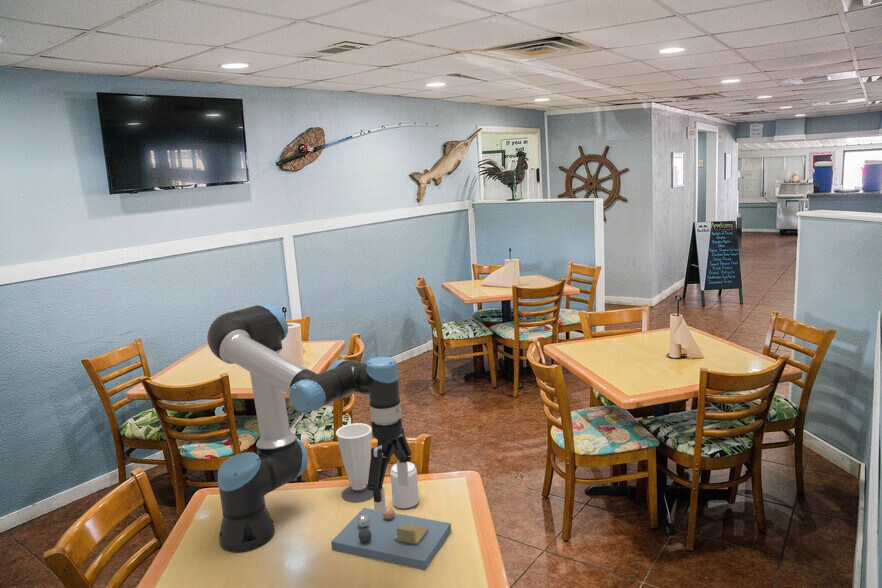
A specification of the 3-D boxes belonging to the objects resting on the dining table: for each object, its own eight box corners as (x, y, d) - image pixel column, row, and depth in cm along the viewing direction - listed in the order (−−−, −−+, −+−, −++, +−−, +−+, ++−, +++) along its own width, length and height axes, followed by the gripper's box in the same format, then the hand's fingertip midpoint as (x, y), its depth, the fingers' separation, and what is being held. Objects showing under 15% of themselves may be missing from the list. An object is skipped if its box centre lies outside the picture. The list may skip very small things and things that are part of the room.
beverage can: (415, 510, 184) (412, 474, 182) (389, 509, 186) (386, 472, 184) (421, 496, 192) (419, 461, 190) (396, 495, 194) (394, 460, 192)
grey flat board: (331, 549, 167) (331, 541, 167) (364, 515, 184) (363, 507, 183) (425, 570, 157) (424, 561, 156) (451, 531, 173) (450, 523, 172)
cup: (364, 480, 204) (359, 419, 200) (384, 493, 196) (379, 429, 192) (334, 493, 197) (328, 430, 193) (353, 506, 189) (347, 441, 184)
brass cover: (394, 540, 165) (393, 527, 165) (405, 526, 172) (404, 514, 171) (417, 545, 163) (416, 532, 162) (428, 530, 169) (427, 518, 168)
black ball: (356, 543, 165) (355, 532, 164) (363, 536, 168) (361, 525, 168) (367, 546, 164) (366, 534, 163) (374, 538, 167) (373, 527, 166)
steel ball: (354, 529, 172) (353, 517, 171) (361, 522, 175) (360, 511, 175) (365, 531, 171) (364, 519, 170) (371, 524, 174) (370, 513, 173)
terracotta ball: (380, 520, 176) (379, 509, 175) (386, 514, 179) (385, 503, 178) (391, 522, 174) (390, 511, 174) (397, 516, 177) (396, 505, 177)
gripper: (376, 442, 139) (383, 527, 143) (420, 402, 162) (425, 476, 166) (347, 438, 142) (355, 522, 146) (394, 400, 164) (400, 473, 168)
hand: (392, 498), depth 156 cm, fingers open, 13 cm apart
